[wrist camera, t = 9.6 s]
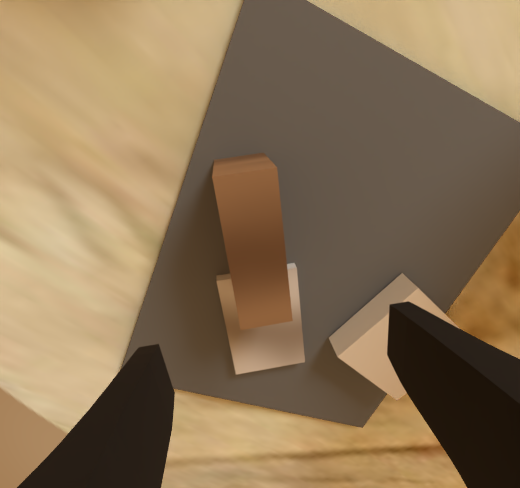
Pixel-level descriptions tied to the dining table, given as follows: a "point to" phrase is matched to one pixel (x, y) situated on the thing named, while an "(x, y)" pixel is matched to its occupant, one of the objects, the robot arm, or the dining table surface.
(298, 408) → the mat
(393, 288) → the flat beige block
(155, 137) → the dining table surface
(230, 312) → the tall brown post
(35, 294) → the dining table surface
